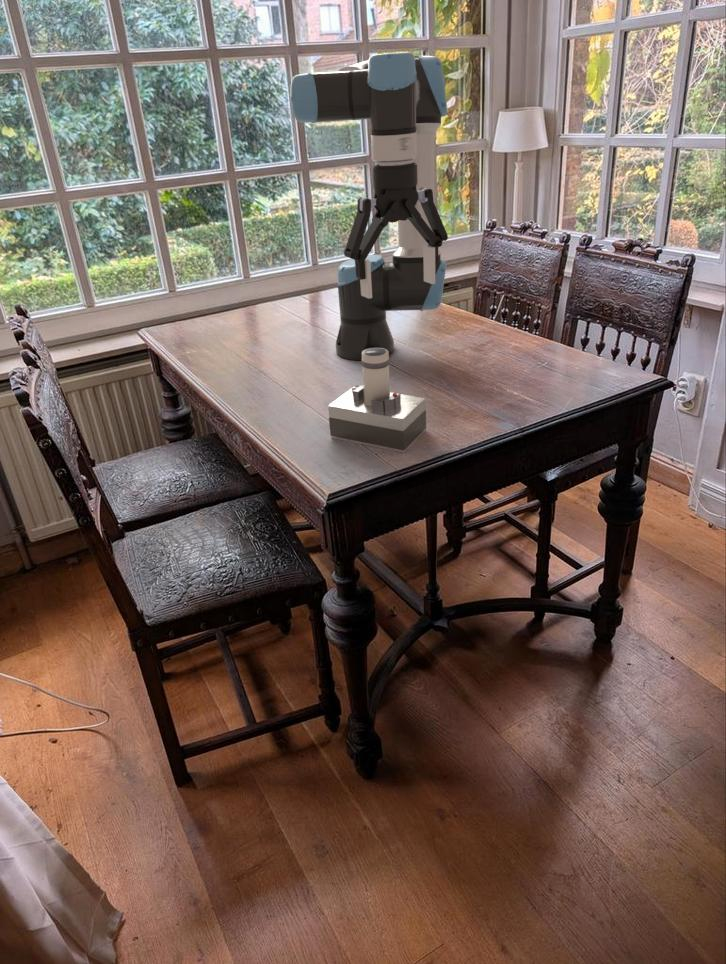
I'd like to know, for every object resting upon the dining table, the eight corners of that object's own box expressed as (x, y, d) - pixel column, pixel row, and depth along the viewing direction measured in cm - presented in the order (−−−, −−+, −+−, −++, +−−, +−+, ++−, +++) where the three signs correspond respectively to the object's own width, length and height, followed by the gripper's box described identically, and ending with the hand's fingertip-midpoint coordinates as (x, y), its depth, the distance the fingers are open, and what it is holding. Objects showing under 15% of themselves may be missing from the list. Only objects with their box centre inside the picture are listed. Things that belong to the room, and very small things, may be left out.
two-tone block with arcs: (330, 437, 135) (326, 393, 130) (355, 417, 142) (352, 374, 137) (403, 452, 128) (402, 406, 123) (426, 430, 135) (425, 386, 130)
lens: (372, 409, 128) (370, 358, 123) (358, 400, 132) (355, 350, 127) (395, 402, 131) (394, 352, 125) (381, 394, 135) (379, 344, 129)
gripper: (339, 173, 106) (349, 307, 117) (468, 155, 115) (466, 280, 127) (317, 169, 111) (328, 298, 122) (442, 152, 121) (442, 272, 132)
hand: (398, 289), depth 124 cm, fingers open, 13 cm apart
